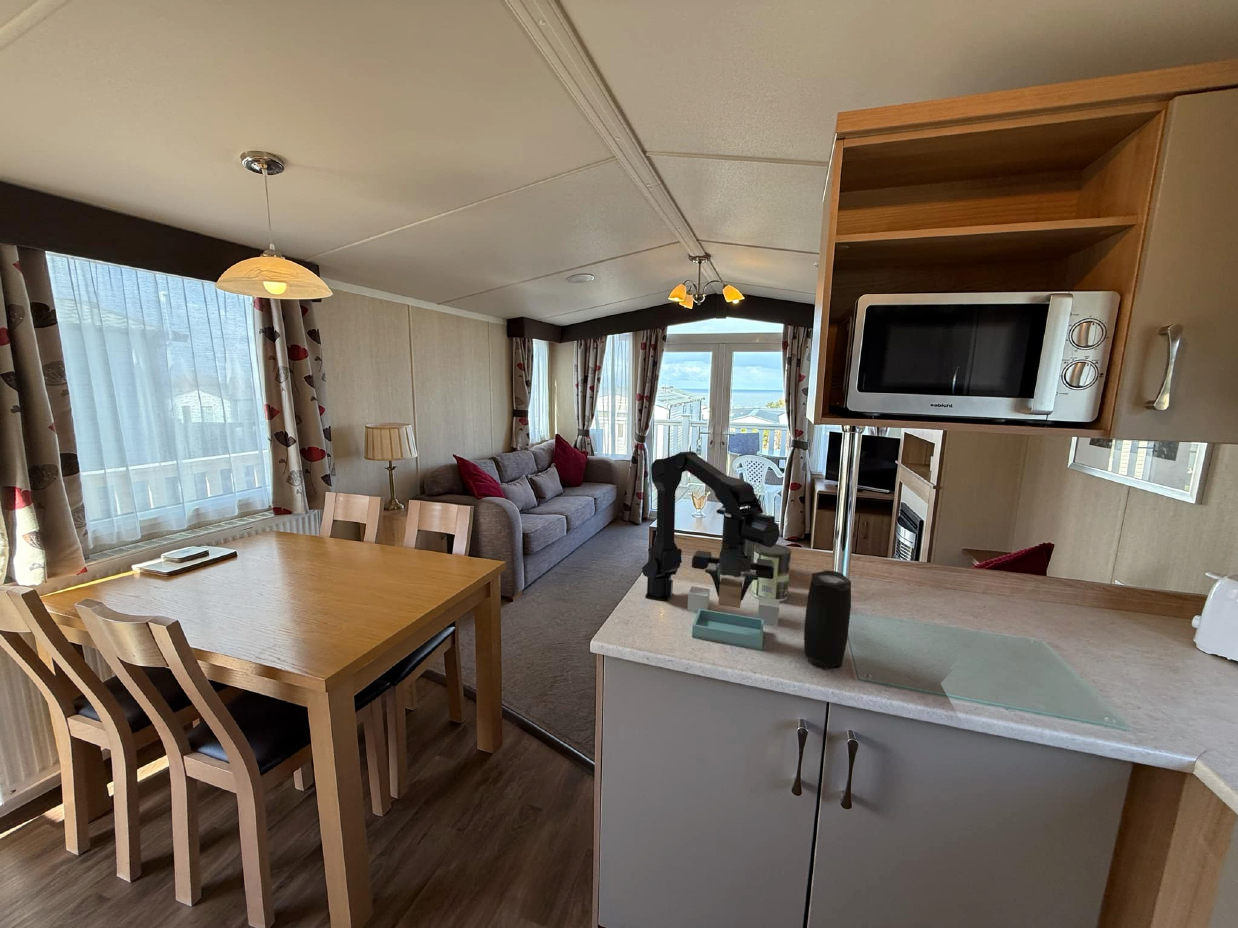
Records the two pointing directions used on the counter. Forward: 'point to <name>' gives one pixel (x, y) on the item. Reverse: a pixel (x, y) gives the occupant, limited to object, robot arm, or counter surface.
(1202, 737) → the counter surface
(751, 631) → the tray
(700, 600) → the grey block left
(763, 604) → the grey block right
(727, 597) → the walnut block
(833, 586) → the portable speaker
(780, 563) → the coffee can
